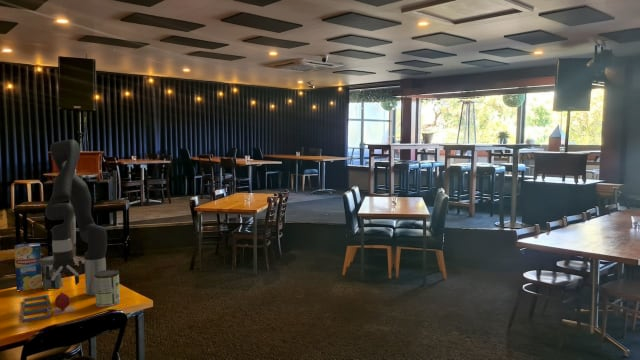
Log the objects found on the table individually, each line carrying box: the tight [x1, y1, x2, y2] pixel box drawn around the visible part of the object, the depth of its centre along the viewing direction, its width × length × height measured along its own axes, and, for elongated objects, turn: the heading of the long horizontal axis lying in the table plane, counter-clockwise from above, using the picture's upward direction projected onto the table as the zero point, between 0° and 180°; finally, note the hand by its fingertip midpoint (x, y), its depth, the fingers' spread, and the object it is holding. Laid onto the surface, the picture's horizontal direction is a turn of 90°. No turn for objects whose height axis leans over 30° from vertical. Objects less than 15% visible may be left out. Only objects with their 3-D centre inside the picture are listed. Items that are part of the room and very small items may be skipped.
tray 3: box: [21, 307, 52, 323], centre depth 200 cm, size 10×10×1 cm
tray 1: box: [22, 294, 51, 305], centre depth 218 cm, size 10×10×1 cm
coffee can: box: [94, 269, 121, 308], centre depth 216 cm, size 10×10×14 cm
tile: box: [51, 305, 76, 317], centre depth 206 cm, size 8×8×1 cm
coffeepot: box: [37, 251, 64, 291], centre depth 241 cm, size 15×9×18 cm, turn 117°
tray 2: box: [22, 300, 51, 312], centre depth 209 cm, size 10×10×1 cm
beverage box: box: [13, 242, 43, 291], centre depth 239 cm, size 7×11×22 cm, turn 120°
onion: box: [54, 291, 71, 310], centre depth 206 cm, size 6×6×8 cm
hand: (65, 286), depth 205 cm, fingers open, 8 cm apart
